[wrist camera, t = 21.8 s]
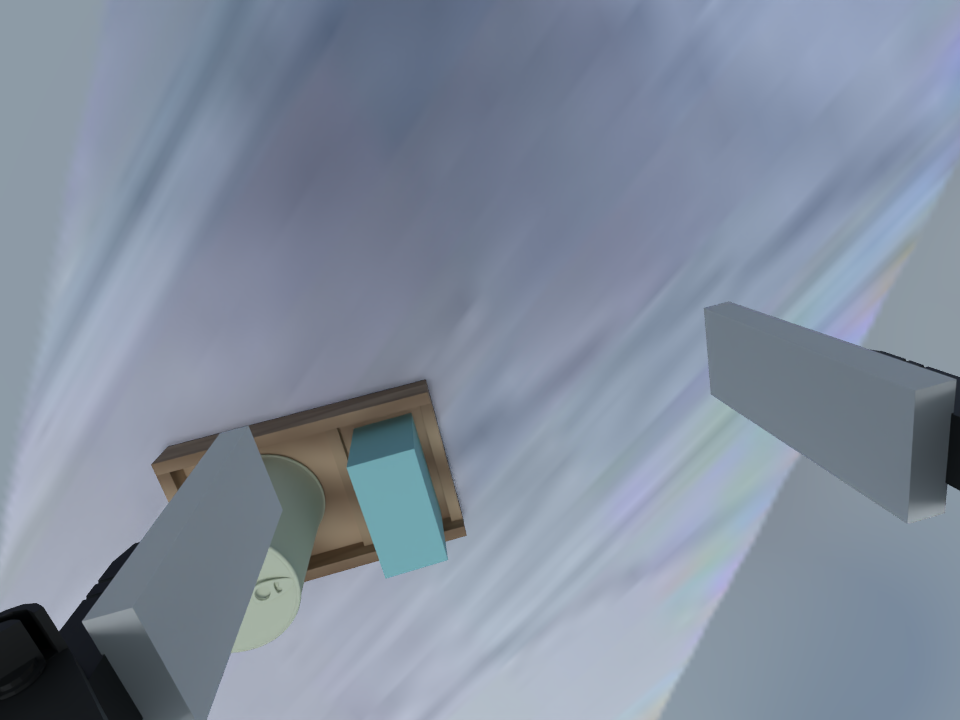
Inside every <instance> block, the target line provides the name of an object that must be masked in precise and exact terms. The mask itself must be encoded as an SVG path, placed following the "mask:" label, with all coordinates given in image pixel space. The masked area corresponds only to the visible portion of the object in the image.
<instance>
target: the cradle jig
mask: <svg viewBox="0 0 960 720" xmlns="http://www.w3.org/2000/svg"><path fill="white" fill-rule="evenodd" d="M408 413H412V416H413V420H414V423H415V426H416V430H417V433H418V436H419V440H420V443H421V446H422V450H423V453H424V456H425V460H426V463H427V466H428V470H429V473H430V476H431V480H432V483H433V486H434V490H435V493H436V497H437V500H438V503H439V507H440V510H441V516H442V522H443V529H444V536H445V542H446V541H449V540H453V539H456V538H460V537H463V536H467V535H466V530H465V526H464V521H463V516H462V512H461V509H460V505H459V501H458V497H457V494H456V490H455V486H454V483H453V479H452V475H451V471H450V468H449V464H448V460H447V457H446V453H445V449H444V446H443V442H442V438H441V434H440V431H439V427H438V423H437V420H436V416H435V412H434V409H433V405H432V401H431V397H430V394H429V390H428V386H427V383H426V380H422V381H418V382H415V383H411V384H407V385H403V386H399V387H395V388H391V389H388V390H384V391H380V392H376V393H372V394H368V395H365V396H361V397H357V398H353V399H349V400H345V401H342V402H338V403H334V404H330V405H326V406H322V407H319V408H315V409H311V410H307V411H303V412H299V413H295V414H292V415H288V416H284V417H280V418H276V419H272V420H269V421H265V422H261V423H257V424H253V425H249V428H250V431H251V433H252V435H253V438H254V440H255V443H256V445H257V448H258V450H259V453H260V455H262V454H273V455H280V456H285V457H288V458H291V459H293V460H296V461H298V462H300V463H301V464H303V465H304V466H306V467H307V468H308V469H309V470H310V471H311V472H312V473H313V474H314V475H315V476H316V477H317V479H318V480H319V482H320V484H321V486H322V488H323V491H324V495H325V512H324V515H323V518H322V521H321V523H320V525H319V527H318V530H317V534H316V537H315V541H314V545H313V549H312V552H311V556H310V560H309V564H308V568H307V572H306V576H305V580H304V582H306V581H309V580H313V579H316V578H320V577H323V576H327V575H330V574H334V573H337V572H341V571H344V570H348V569H351V568H355V567H358V566H362V565H365V564H369V563H372V562H376V561H379V558H378V555H377V552H376V550H375V547H374V544H373V541H372V538H371V536H370V533H369V530H368V527H367V524H366V521H365V519H364V516H363V513H362V510H361V507H360V504H359V502H358V499H357V496H356V493H355V490H354V488H353V485H352V482H351V479H350V476H349V473H348V471H347V462H348V457H349V452H350V446H351V441H352V436H353V430H354V428H358V427H362V426H365V425H369V424H372V423H376V422H380V421H383V420H387V419H390V418H394V417H398V416H401V415H405V414H408ZM219 434H220V433H219ZM219 434H215V435H211V436H207V437H203V438H199V439H196V440H192V441H188V442H184V443H180V444H176V445H173V446H169V447H167V448H166V449H165V450H164V451H163V453H162V454H161V455H160V456H159V457H158V458H157V459H156V460H155V461H154V462H153V463H152V464H151V466H152V468H153V470H154V472H155V474H156V476H157V478H158V480H159V483H160V485H161V487H162V489H163V491H164V493H165V495H166V498H167V500H168V502H170V501H171V499H172V498H173V497H174V495H175V494H176V492H177V491H178V490H179V488H180V487H181V486H182V484H183V483H184V482H185V480H186V479H187V477H188V476H189V475H190V473H191V472H192V471H193V469H194V468H195V467H196V465H197V464H198V462H199V461H200V460H201V458H202V457H203V456H204V454H205V453H206V452H207V450H208V449H209V448H210V446H211V445H212V443H213V442H214V441H215V439H216V438H217V437H218V435H219Z"/></svg>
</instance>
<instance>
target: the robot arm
mask: <svg viewBox="0 0 960 720" xmlns="http://www.w3.org/2000/svg"><path fill="white" fill-rule="evenodd" d="M704 315H705V327H706V340H707V352H708V365H709V377H710V390H711V395H713V396H714V397H716V398H717V399H719V400H720V401H722V402H723V403H725V404H726V405H728V406H729V407H731V408H732V409H734V410H735V411H737V412H738V413H740V414H741V415H743V416H744V417H746V418H747V419H749V420H750V421H752V422H753V423H755V424H757V425H758V426H760V427H761V428H763V429H764V430H766V431H767V432H769V433H770V434H772V435H773V436H775V437H776V438H778V439H779V440H781V441H782V442H784V443H785V444H787V445H788V446H790V447H791V448H793V449H794V450H796V451H797V452H799V453H801V454H802V455H804V456H805V457H807V458H808V459H810V460H811V461H813V462H814V463H816V464H817V465H819V466H820V467H822V468H823V469H825V470H826V471H828V472H829V473H831V474H832V475H834V476H836V477H837V478H838V479H840V480H841V481H843V482H844V483H846V484H848V485H849V486H851V487H852V488H854V489H855V490H857V491H858V492H860V493H861V494H863V495H864V496H866V497H867V498H869V499H870V500H872V501H873V502H875V503H876V504H878V505H879V506H881V507H882V508H884V509H885V510H887V511H889V512H890V513H892V514H893V515H895V516H897V517H898V518H899V519H901V520H902V521H904V522H905V523H907V524H909V523H912V522H916V521H919V520H923V519H926V518H929V517H933V516H936V515H940V514H943V513H945V505H946V494H947V484H949V485H950V486H952V487H954V488H956V489H958V490H960V377H958V376H955V375H951V374H949V373H946V372H943V371H940V370H937V369H934V368H931V367H924V366H923V365H921V364H919V363H916V362H913V361H906V359H904V358H901V357H898V356H895V355H892V354H889V353H886V352H883V351H875V350H869V349H866V348H863V347H861V346H858V345H855V344H852V343H849V342H846V341H843V340H840V339H837V338H834V337H831V336H828V335H825V334H822V333H820V332H817V331H814V330H811V329H808V328H805V327H802V326H799V325H796V324H793V323H790V322H787V321H784V320H781V319H779V318H776V317H773V316H770V315H767V314H764V313H761V312H758V311H755V310H752V309H749V308H746V307H743V306H741V305H738V304H735V303H732V302H725V303H721V304H718V305H714V306H710V307H706V308H704ZM282 511H283V509H282V507H281V504H280V502H279V500H278V497H277V495H276V492H275V490H274V487H273V485H272V482H271V480H270V477H269V475H268V472H267V470H266V468H265V465H264V463H263V460H262V458H261V455H260V453H259V450H258V448H257V445H256V443H255V440H254V438H253V435H252V433H251V431H250V428H249V426H245V427H241V428H237V429H233V430H230V431H226V432H222V433H220V434H219V435H218V437H217V438H216V439H215V441H214V442H213V443H212V445H211V446H210V448H209V449H208V450H207V452H206V453H205V454H204V456H203V457H202V458H201V460H200V461H199V462H198V464H197V465H196V467H195V468H194V469H193V471H192V472H191V473H190V475H189V476H188V477H187V479H186V480H185V482H184V483H183V484H182V486H181V487H180V488H179V490H178V491H177V492H176V494H175V495H174V497H173V498H172V499H171V501H170V502H169V503H168V505H167V506H166V507H165V509H164V510H163V512H162V513H161V514H160V516H159V517H158V518H157V520H156V521H155V522H154V524H153V525H152V527H151V528H150V529H149V531H148V532H147V533H146V535H145V536H144V537H143V539H142V540H141V542H138V543H135V544H133V545H132V546H131V547H130V548H129V549H127V550H126V551H125V552H124V553H123V554H122V555H120V556H119V557H118V558H117V559H116V560H114V561H113V562H112V563H111V565H110V566H109V567H108V569H107V570H106V571H105V573H104V574H103V575H102V576H101V578H100V579H99V580H98V584H95V586H94V587H93V588H92V589H91V591H90V592H89V593H88V595H87V596H86V597H87V599H86V600H83V601H82V602H81V604H80V605H79V606H78V608H77V609H76V610H75V612H74V613H73V614H72V615H71V617H70V618H69V619H68V621H67V622H66V623H65V625H64V626H63V627H62V628H61V630H60V631H58V630H57V628H56V626H55V625H54V623H53V622H52V620H51V618H50V617H49V615H48V614H47V612H46V610H45V609H44V607H42V606H41V605H39V604H37V603H32V604H23V605H20V606H17V607H14V608H11V609H8V610H5V611H3V612H1V613H0V720H207V717H208V715H209V712H210V709H211V706H212V704H213V701H214V698H215V695H216V693H217V690H218V687H219V684H220V682H221V679H222V676H223V673H224V670H225V668H226V665H227V662H228V659H229V657H230V654H231V651H232V648H233V646H234V643H235V640H236V637H237V635H238V632H239V629H240V626H241V624H242V621H243V618H244V615H245V613H246V610H247V607H248V604H249V602H250V599H251V596H252V593H253V591H254V588H255V585H256V582H257V580H258V577H259V574H260V571H261V569H262V566H263V563H264V560H265V558H266V555H267V552H268V549H269V547H270V544H271V541H272V538H273V535H274V533H275V530H276V527H277V524H278V522H279V519H280V516H281V513H282Z"/></svg>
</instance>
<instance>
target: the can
mask: <svg viewBox="0 0 960 720" xmlns="http://www.w3.org/2000/svg"><path fill="white" fill-rule="evenodd" d="M261 458H262V460H263V463H264V465H265V468H266V470H267V472H268V475H269V477H270V480H271V482H272V485H273V487H274V490H275V492H276V495H277V497H278V500H279V502H280V504H281V507H282V509H283V511H282V513H281V516H280V519H279V522H278V524H277V527H276V530H275V533H274V535H273V538H272V541H271V544H270V547H269V549H268V552H267V555H266V558H265V560H264V563H263V566H262V569H261V571H260V574H259V577H258V580H257V582H256V585H255V588H254V591H253V593H252V596H251V599H250V602H249V604H248V607H247V610H246V613H245V615H244V618H243V621H242V624H241V626H240V629H239V632H238V635H237V637H236V640H235V643H234V646H233V648H232V651H231V653H235V652H243V651H248V650H252V649H255V648H258V647H261V646H263V645H265V644H267V643H269V642H271V641H273V640H274V639H276V638H277V637H278V636H280V635H281V634H282V633H283V632H284V631H285V630H286V629H287V628H288V627H289V626H290V624H291V623H292V621H293V620H294V618H295V616H296V614H297V612H298V609H299V606H300V601H301V593H302V588H303V584H304V580H305V576H306V572H307V568H308V564H309V560H310V556H311V552H312V549H313V545H314V541H315V537H316V534H317V530H318V527H319V525H320V523H321V521H322V518H323V515H324V512H325V495H324V491H323V488H322V486H321V484H320V482H319V480H318V479H317V477H316V476H315V475H314V474H313V473H312V472H311V471H310V470H309V469H308V468H307V467H306V466H304V465H303V464H301V463H300V462H298V461H296V460H293V459H291V458H288V457H285V456H280V455H273V454H262V455H261Z"/></svg>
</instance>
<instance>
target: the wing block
mask: <svg viewBox="0 0 960 720" xmlns="http://www.w3.org/2000/svg"><path fill="white" fill-rule="evenodd" d="M347 471H348V473H349V476H350V479H351V482H352V485H353V488H354V490H355V493H356V496H357V499H358V502H359V504H360V507H361V510H362V513H363V516H364V519H365V521H366V524H367V527H368V530H369V533H370V536H371V538H372V541H373V544H374V547H375V550H376V552H377V555H378V558H379V561H380V564H381V567H382V569H383V572H384V575H385V578H389V577H393V576H396V575H399V574H403V573H406V572H409V571H413V570H416V569H419V568H423V567H426V566H429V565H433V564H436V563H439V562H443V561H446V560H448V557H447V550H446V543H445V536H444V529H443V522H442V516H441V510H440V507H439V503H438V500H437V497H436V493H435V490H434V486H433V483H432V480H431V476H430V473H429V470H428V466H427V463H426V460H425V456H424V453H423V450H422V446H421V443H420V440H419V436H418V433H417V430H416V426H415V423H414V420H413V416H412V413H408V414H405V415H401V416H398V417H394V418H390V419H387V420H383V421H380V422H376V423H372V424H369V425H365V426H362V427H358V428H354V430H353V436H352V441H351V446H350V452H349V457H348V462H347Z"/></svg>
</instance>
